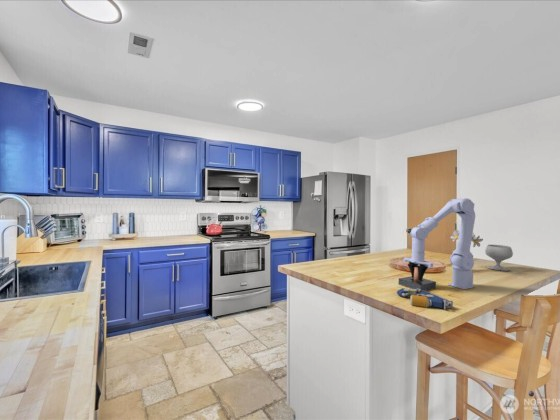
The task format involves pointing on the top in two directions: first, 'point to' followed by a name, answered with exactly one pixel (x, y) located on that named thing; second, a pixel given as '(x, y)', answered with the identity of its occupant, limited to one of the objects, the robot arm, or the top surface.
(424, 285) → the collar block
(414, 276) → the pin
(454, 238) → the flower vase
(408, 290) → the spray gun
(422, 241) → the robot arm
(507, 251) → the chalice
